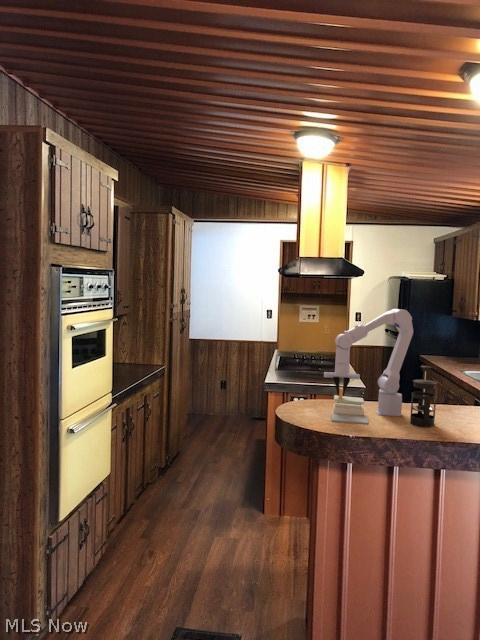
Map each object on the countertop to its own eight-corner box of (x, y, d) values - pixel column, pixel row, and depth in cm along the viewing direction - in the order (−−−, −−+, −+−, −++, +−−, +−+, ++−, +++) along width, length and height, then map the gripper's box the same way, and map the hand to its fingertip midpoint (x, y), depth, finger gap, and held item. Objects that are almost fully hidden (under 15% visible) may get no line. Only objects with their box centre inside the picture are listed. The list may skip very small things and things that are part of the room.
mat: (366, 417, 216) (366, 416, 216) (368, 424, 207) (368, 422, 207) (331, 415, 219) (331, 413, 218) (331, 421, 209) (331, 419, 209)
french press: (406, 419, 216) (410, 363, 214) (430, 421, 215) (434, 364, 213) (413, 427, 204) (417, 368, 202) (438, 429, 203) (443, 369, 201)
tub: (362, 411, 226) (362, 405, 226) (363, 416, 219) (363, 410, 218) (333, 409, 228) (333, 403, 228) (333, 414, 220) (334, 408, 220)
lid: (362, 401, 226) (363, 388, 226) (364, 406, 218) (365, 392, 218) (333, 398, 228) (334, 385, 227) (334, 403, 220) (335, 389, 220)
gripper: (324, 363, 219) (323, 396, 221) (360, 365, 217) (359, 398, 218) (324, 360, 226) (322, 392, 227) (359, 363, 224) (357, 395, 225)
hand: (340, 395), depth 223 cm, fingers closed on lid
